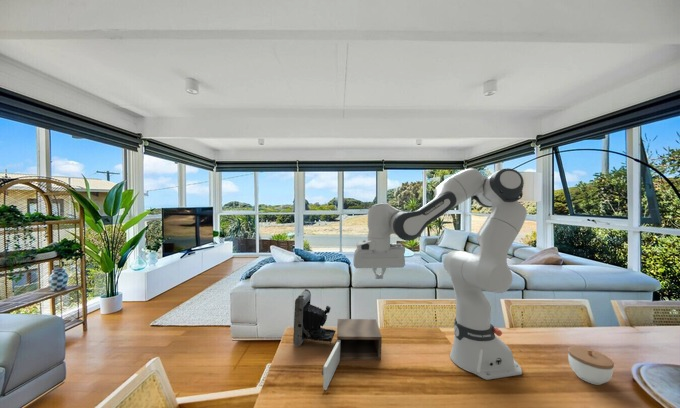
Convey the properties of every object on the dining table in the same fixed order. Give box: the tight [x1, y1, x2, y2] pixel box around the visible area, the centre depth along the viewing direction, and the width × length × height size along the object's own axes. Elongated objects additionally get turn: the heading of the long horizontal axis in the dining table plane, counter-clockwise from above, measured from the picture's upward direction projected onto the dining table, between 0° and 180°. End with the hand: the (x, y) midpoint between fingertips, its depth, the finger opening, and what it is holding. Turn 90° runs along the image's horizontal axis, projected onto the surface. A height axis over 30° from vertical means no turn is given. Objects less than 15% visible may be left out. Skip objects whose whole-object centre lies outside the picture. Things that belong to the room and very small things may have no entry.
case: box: [336, 318, 382, 361], centre depth 96 cm, size 16×13×8 cm
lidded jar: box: [567, 345, 615, 386], centre depth 82 cm, size 11×11×9 cm
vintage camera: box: [292, 288, 337, 347], centre depth 100 cm, size 10×15×20 cm, turn 79°
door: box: [321, 340, 341, 391], centre depth 82 cm, size 15×2×7 cm, turn 163°
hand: (379, 278), depth 98 cm, fingers closed
